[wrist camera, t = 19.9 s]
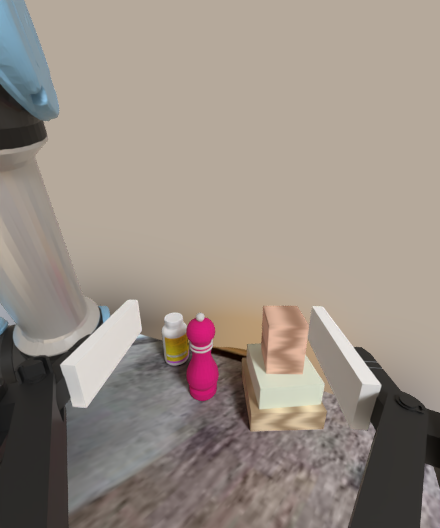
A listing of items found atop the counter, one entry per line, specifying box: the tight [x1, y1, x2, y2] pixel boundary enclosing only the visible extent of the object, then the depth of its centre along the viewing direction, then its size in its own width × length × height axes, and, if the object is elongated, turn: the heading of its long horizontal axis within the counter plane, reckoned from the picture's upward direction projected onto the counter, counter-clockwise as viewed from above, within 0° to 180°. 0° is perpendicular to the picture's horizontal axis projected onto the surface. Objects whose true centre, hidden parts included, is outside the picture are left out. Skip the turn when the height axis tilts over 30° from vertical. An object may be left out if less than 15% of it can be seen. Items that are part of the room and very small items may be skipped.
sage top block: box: [247, 344, 325, 409], centre depth 45 cm, size 12×12×5 cm
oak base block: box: [242, 358, 327, 431], centre depth 46 cm, size 14×14×5 cm
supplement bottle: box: [162, 313, 189, 366], centre depth 57 cm, size 7×7×13 cm
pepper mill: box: [186, 313, 219, 401], centre depth 46 cm, size 7×7×20 cm
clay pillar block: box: [261, 306, 309, 374], centre depth 43 cm, size 7×7×11 cm
